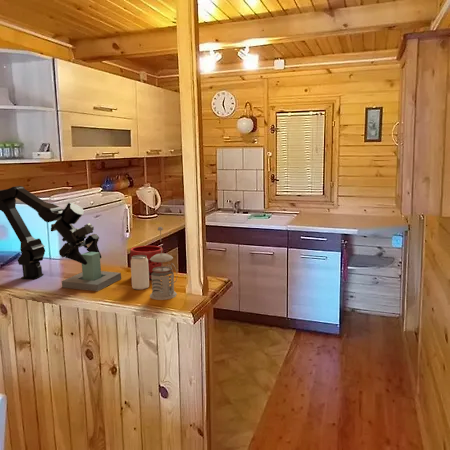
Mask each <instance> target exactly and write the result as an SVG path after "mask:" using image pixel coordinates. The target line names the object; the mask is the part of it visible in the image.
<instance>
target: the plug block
mask: <svg viewBox="0 0 450 450" xmlns="http://www.w3.org/2000/svg"><path fill="white" fill-rule="evenodd" d="M100 254H101V251H99V252H89V251H87V252H84V253H81V255H82V256H83V257H84V259H85V260H86V262H87V264H86V265H84V264H82V263H81V272H82V274H83V280H92V281H95V280H97V279H99V278H101V271H102V269H101V267H102V266H101V259H100Z"/></svg>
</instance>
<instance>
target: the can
mask: <svg viewBox="0 0 450 450" xmlns="http://www.w3.org/2000/svg"><path fill="white" fill-rule="evenodd" d="M130 272H131V287H132V289H134V290H137V291H142V290H146V289H148V288H149V287H150V279H149V269H148V259H147V256H146V255H135V256H132V259H131V258H130Z"/></svg>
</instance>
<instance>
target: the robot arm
mask: <svg viewBox="0 0 450 450" xmlns="http://www.w3.org/2000/svg"><path fill="white" fill-rule="evenodd" d="M17 200H19V201H21V202H22V203H23V204H25V205H27V206H28V207H30V208H31V209H32V210H34V211H35V212H37V214H38V216H39V218H41V220H42V221H44V222H46V223H51V222H54V223H52V224H51V225H50V232H55V231H57V233H59V235H60V236H61V237H62V239H61V240H62V241H63V242H65V243H64V244H63V246H61V248H60V249H59V251H58V252H59V253H58V254H59V256H61V258H65V259H69V260H72V261H75V262H77V263H80V264H81V265H82V264H84V265H86V264H87V262H86V260H85V259H84V257H83V256H82V255H81V254H82V253H81V252H80V248H81V247H84V249H86V251H87V252H100V249H99V245H98V243H99V239H100V236H99V235H97V234H96V233H94V230H95V229H94V226H93V225H92V224H91V223H86V224H85V225H84V226H82V227H80V228H79V227H75V226H73V225H75V224H77V222H78V221H79V220H80V218H81V217H82V216H83V215H84V214H85V211H84V208H83V207H82V206H80V205H78V204H76V203H73V201H72V202H71V201H70V202H68V203H67V204H66V206H65V207H64V208H61V206H58V205H56V204H54V203H50V202H46V201H44V200H43V199H41V197H40V198H39V197H38V196H36V195H35V194H33V193H32V192H30V191H29V190H27V189H26V188H25V187H24V186H23V185H17V186H16V185H15V186H11V187H9V188H5V189H0V211H1V212H3V214H4V216H5V218H6V219H7V221H8V222H9V225H10V226H11V228H12V230H13V231H14V233H15V235H16V236H17V239H18V240H19V242H20V248H19V250H20V252H21V255H20V256H19V257H17V262H18V265H19V266H22V267H21V268H22V275H23V276H22V277H21V276H20V280H21V279H23V280H26V279H27V280H36V279H38V278H40V277H42V276H44V273H43V270H42V269H43V268H42V265H41V261H43V259H44V255H45V252H46V248H45V246H46V245H44V244H43V242H42V240H41V238H35V237H34V236H33V235H32V234H31V232H30V230H29V228H28V226H27V224H26V223H25V221H24V220H23V218H22V216H21V214H20V213H19V211H18V209H17V207H16V204H17V203H16V201H17ZM101 259H102V255H101V253H100V260H101Z"/></svg>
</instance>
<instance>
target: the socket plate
mask: <svg viewBox="0 0 450 450" xmlns="http://www.w3.org/2000/svg"><path fill="white" fill-rule="evenodd" d="M121 279H122V272H117V271H116V272H115V271H106V270H105V271H104V270H101V278H99V279H97V280H95V281H92V280H83V274H82V271H81V272H80V273H78V274H75V275H72V276H70V277H68V278H66V279H63V280H61V286H62V287H61V288H64V289H72V290H73V289H74V290H84V291H91V292H92V291H93V292H99V291H101V290H103V289H104V288H107V287H108V286H111V285H113V284H115V283H116V282H118V281H121Z"/></svg>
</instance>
